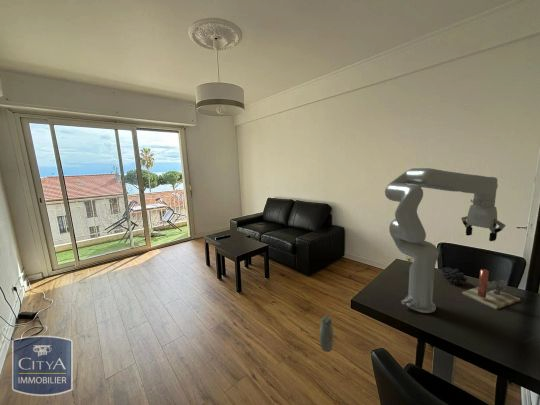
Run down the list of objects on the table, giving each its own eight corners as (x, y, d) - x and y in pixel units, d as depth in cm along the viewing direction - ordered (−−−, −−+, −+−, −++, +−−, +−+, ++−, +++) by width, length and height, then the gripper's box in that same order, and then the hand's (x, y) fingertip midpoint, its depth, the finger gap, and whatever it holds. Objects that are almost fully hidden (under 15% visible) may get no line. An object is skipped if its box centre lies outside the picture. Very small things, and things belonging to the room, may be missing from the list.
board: (496, 309, 104) (497, 300, 103) (462, 293, 117) (462, 285, 116) (519, 300, 109) (521, 291, 108) (484, 286, 122) (485, 278, 122)
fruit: (435, 278, 137) (457, 289, 122) (432, 266, 136) (453, 275, 121) (448, 273, 137) (472, 284, 122) (445, 261, 137) (468, 270, 122)
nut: (489, 290, 117) (490, 283, 116) (481, 286, 120) (481, 280, 120) (494, 288, 118) (494, 282, 117) (485, 285, 121) (486, 279, 121)
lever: (485, 299, 107) (488, 272, 105) (474, 295, 111) (476, 269, 109) (509, 291, 113) (512, 265, 111) (498, 286, 117) (501, 262, 115)
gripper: (458, 201, 115) (455, 234, 117) (501, 206, 98) (496, 244, 101) (468, 200, 117) (465, 232, 119) (512, 205, 100) (508, 242, 103)
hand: (480, 237), depth 110 cm, fingers open, 9 cm apart
